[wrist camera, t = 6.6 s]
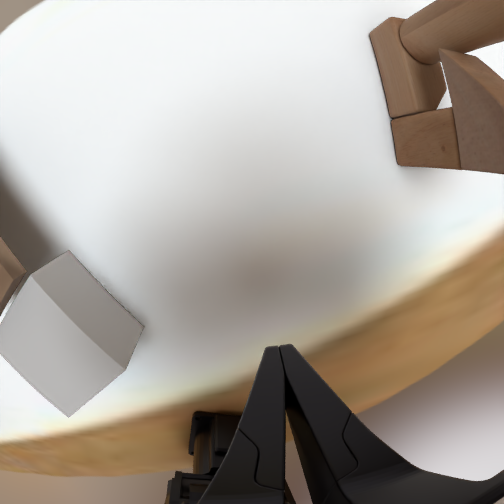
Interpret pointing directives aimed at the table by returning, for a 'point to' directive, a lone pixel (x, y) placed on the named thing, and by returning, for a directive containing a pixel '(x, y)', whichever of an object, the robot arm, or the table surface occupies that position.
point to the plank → (8, 274)
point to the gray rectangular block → (67, 334)
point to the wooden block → (444, 85)
